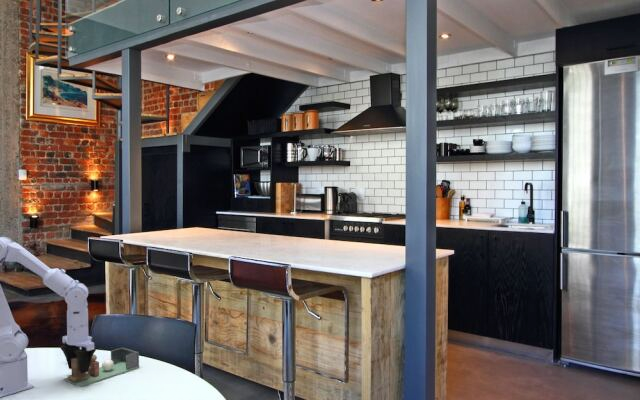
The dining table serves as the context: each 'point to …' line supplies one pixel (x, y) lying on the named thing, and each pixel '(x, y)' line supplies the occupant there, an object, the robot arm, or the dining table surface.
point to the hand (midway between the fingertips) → (78, 370)
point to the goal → (125, 357)
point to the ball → (107, 365)
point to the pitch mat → (103, 374)
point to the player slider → (79, 376)
